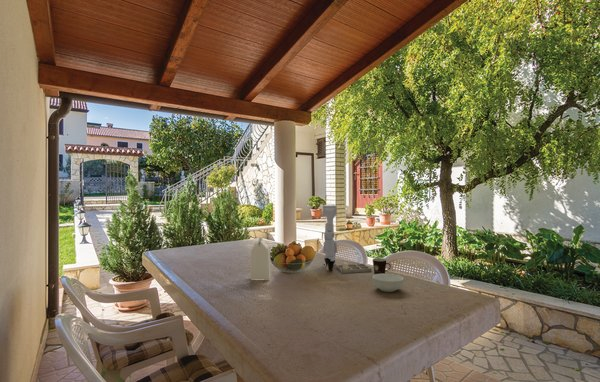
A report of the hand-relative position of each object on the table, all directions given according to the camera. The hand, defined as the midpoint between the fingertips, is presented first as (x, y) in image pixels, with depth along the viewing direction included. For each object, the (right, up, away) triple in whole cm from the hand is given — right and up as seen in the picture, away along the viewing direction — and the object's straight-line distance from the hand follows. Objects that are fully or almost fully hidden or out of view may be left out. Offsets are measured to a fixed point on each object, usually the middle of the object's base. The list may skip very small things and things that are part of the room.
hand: (329, 269), depth 222 cm
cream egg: (+10, 0, -4) cm, 11 cm away
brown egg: (0, -1, 0) cm, 1 cm away
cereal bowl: (+28, -2, -41) cm, 50 cm away
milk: (-44, -2, -13) cm, 46 cm away
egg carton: (+16, -1, +1) cm, 16 cm away
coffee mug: (+31, -1, -12) cm, 34 cm away
